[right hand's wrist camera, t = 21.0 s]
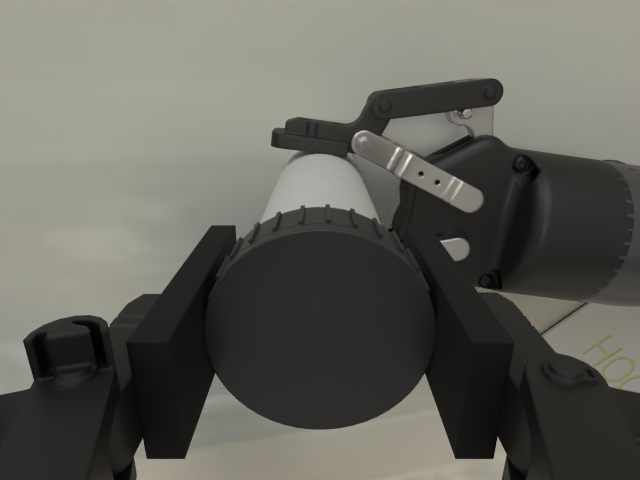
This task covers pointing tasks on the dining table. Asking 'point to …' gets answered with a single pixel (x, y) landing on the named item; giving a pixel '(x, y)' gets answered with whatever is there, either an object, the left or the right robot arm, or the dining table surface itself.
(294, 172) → the white cylindrical bottle
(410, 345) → the lid
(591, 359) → the grey flat rectangular slab
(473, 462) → the dining table surface
